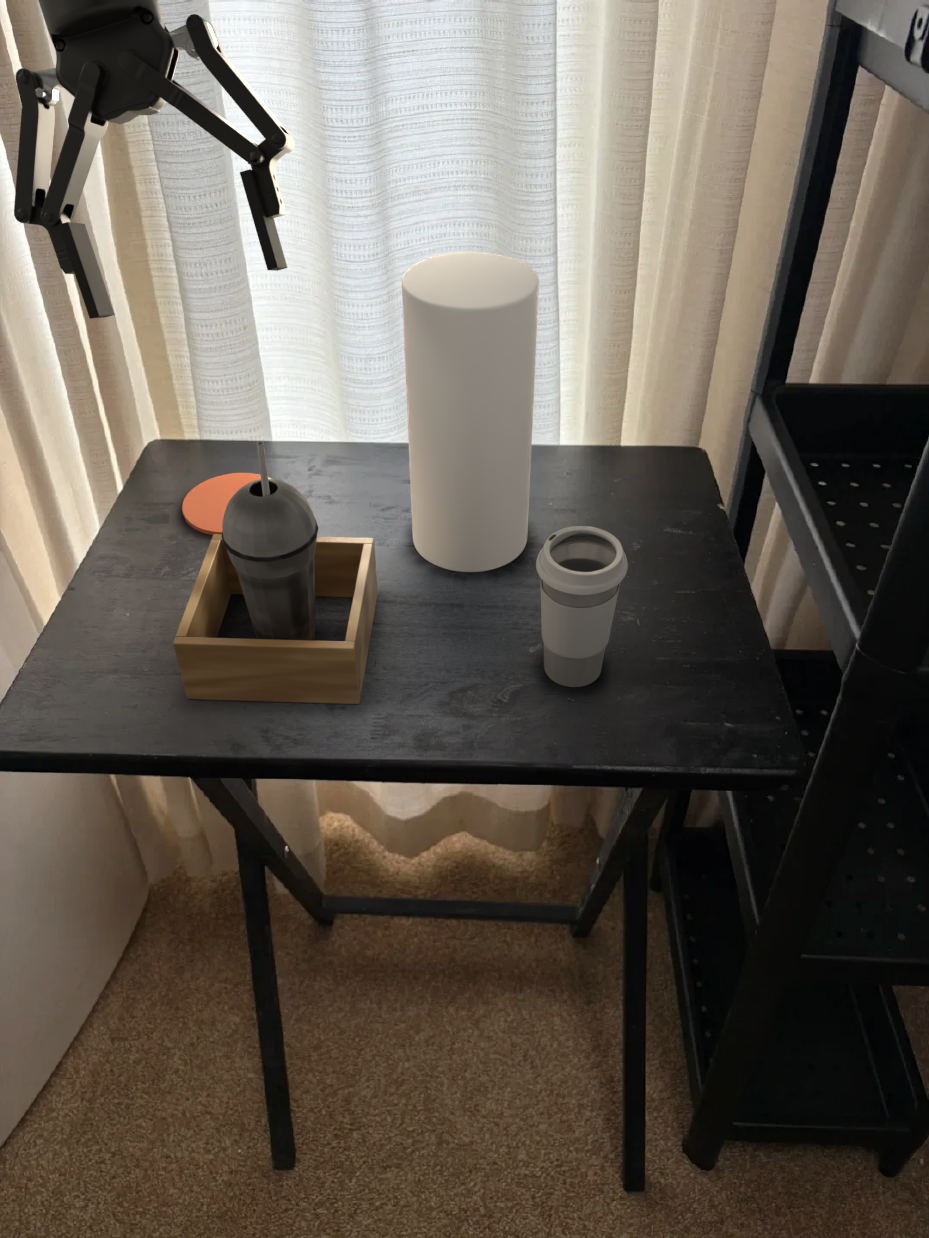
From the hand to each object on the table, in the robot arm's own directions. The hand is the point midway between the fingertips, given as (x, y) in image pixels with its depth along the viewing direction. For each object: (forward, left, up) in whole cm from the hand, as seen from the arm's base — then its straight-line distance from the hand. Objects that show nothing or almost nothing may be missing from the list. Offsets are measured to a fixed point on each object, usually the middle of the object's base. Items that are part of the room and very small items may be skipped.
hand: (189, 294), depth 75 cm
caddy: (-2, -9, -27) cm, 28 cm away
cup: (+12, -28, -27) cm, 41 cm away
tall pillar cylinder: (+19, -10, -27) cm, 34 cm away
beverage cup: (-2, -9, -27) cm, 29 cm away
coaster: (+7, +10, -27) cm, 29 cm away
